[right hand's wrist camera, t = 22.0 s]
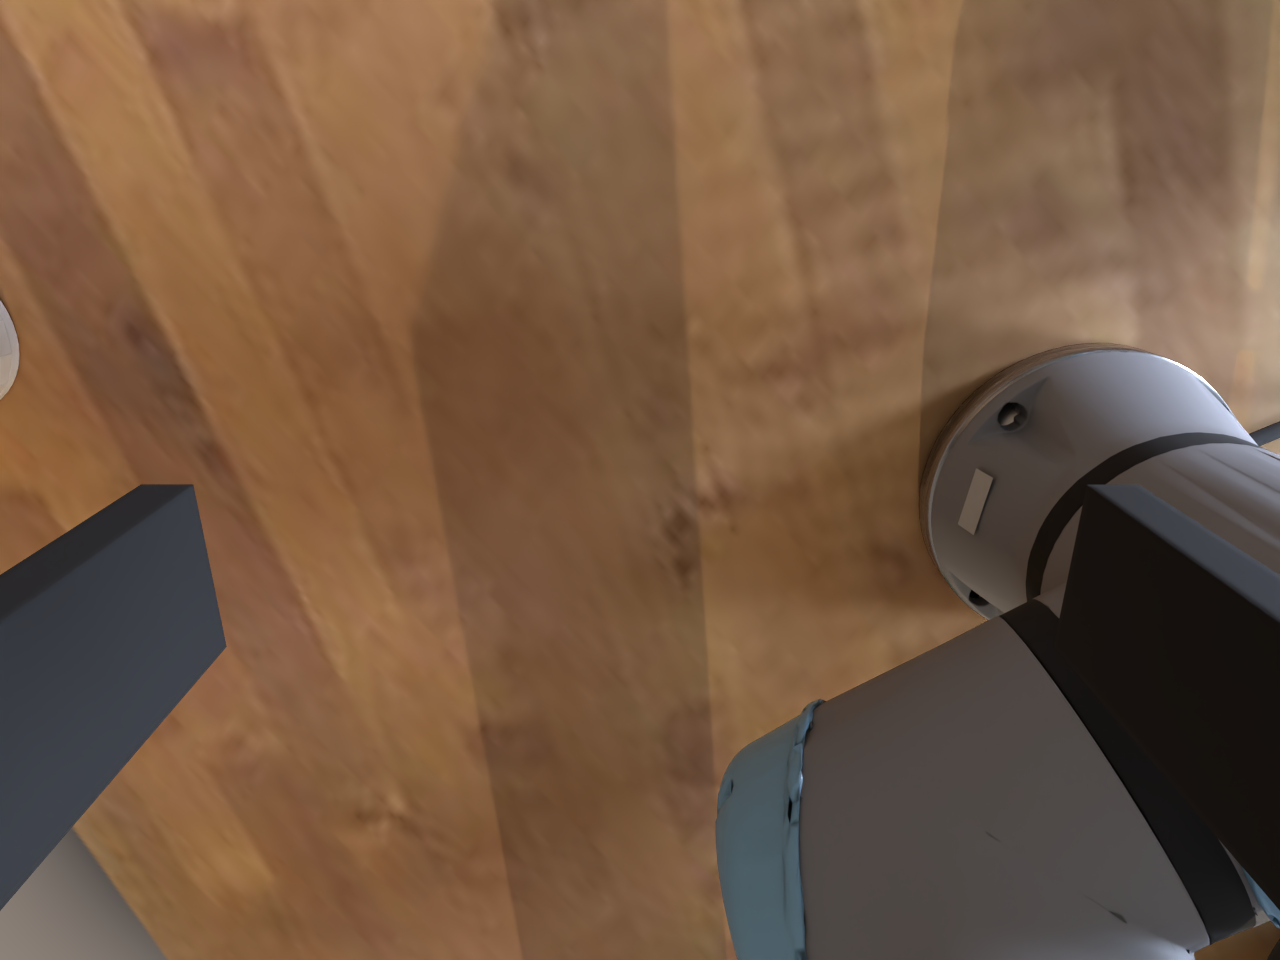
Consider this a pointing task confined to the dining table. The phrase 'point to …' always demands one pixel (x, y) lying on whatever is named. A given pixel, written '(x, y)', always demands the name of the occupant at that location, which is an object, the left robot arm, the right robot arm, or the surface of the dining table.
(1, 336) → the ceramic cup
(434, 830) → the dining table surface
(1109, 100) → the dining table surface
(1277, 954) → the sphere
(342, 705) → the dining table surface
